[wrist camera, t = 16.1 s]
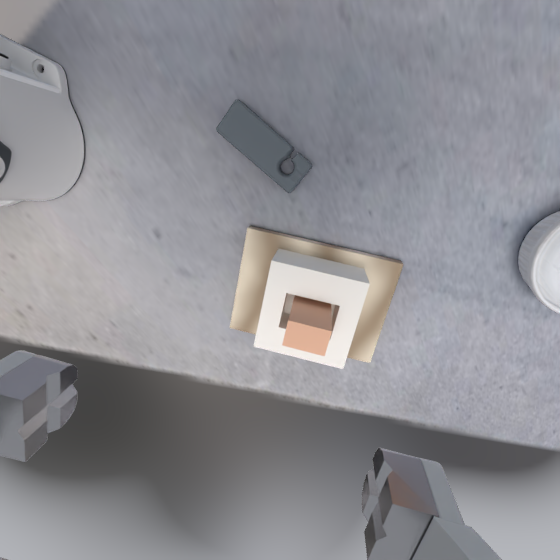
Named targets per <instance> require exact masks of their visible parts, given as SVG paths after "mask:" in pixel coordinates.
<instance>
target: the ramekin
mask: <svg viewBox="0 0 560 560" xmlns="http://www.w3.org/2000/svg"><path fill="white" fill-rule="evenodd" d="M518 265H519V271H520V273H521V275H522V277H523V279H524V281H525V282H526V283H527V285H528V286H529V287H530V288H531V290H532V292H533V293H534V295H535V296H536V298H537V299H538V300H539V301H540V302H541V303H542V304H544V305H545V306H546V307H548V308H549V309H551V310H552V311H554V312H556V313H559V314H560V211H558V212H556V213H553V214H551V215H549V216H547V217H546V218H544V219H543V220H541V221H540V222H539V223H538V224H536V225H535V226H534V227H533V228H532V229H531V230H530V231H529V233H528V234H527V235H526V237H525V239H524V240H523V242H522V245H521V247H520V251H519V257H518Z"/></svg>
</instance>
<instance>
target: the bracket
mask: <svg viewBox="0 0 560 560" xmlns="http://www.w3.org/2000/svg"><path fill="white" fill-rule="evenodd" d="M216 130H217V132H218V133H219V134H221V135H222V136H223V137H224V138H225V139H226V140H227V141H229V142H230V143H231V144H232V145H233V146H234V147H236V148H237V149H238V150H239V151H240V152H241V153H243V154H244V155H245V156H246V157H247V158H248V159H249V160H251V161H252V162H253V163H254V164H255V165H256V166H258V167H259V168H260V169H261V170H262V171H263V172H265V173H266V174H267V175H268V176H269V177H270V178H271V179H273V180H274V181H275V182H276V183H277V184H278V185H280V186H281V187H282V188H283V189H284V190H285V191H287V192H288V193H291V192H292V191H293V190H294V189H295V187H296V186H297V185H298V184H299V183H300V181H301V180H302V179H303V178H304V176H305V175H306V174H307V173H308V171H309V170H310V169H311V168H312V164H311V163H310V162H309V161H308V160H307V159H306V158H304V157H303V156H302V155H301V154H300V153H298V154H297V155H296V156H295V157H294V159H293V158H292V159H291V161H292V162H293V164H294V170H293V172H292V173H291V174H288V175H286V174H284V173H282V171H281V169H280V165H281V163H282V162H283V161H284V160H286V159H287V158H290V155H291V153H292V152H293V151H294V149H293V147H292V146H291V145H290V144H289V143H287V142H286V141H285V140H284V139H283V138H282V137H281V136H279V135H278V134H277V133H276V132H275V131H274V130H273V129H272V128H270V127H269V126H268V125H267V124H266V123H265V122H264V121H262V120H261V119H260V118H259V117H258V116H257V115H256V114H255V113H253V112H252V111H251V110H250V109H249V108H248V107H247V106H245V105H244V104H243V103H242V102H241V101H240V100H235V102H234V103H233V104H232V106H231V107H230V109H229V110H228V112H227V113H226V115H225V116H224V118H223V119H222V121H221V122H220V124H219V125H218V127H217V128H216Z"/></svg>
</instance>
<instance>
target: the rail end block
mask: <svg viewBox="0 0 560 560" xmlns="http://www.w3.org/2000/svg"><path fill="white" fill-rule="evenodd" d="M331 333H332V315H331V304H330V303H326V302H322V301H318V300H313V299H309V298H305V297H301V296H297V295H295V296H294V300H293V304H292V308H291V311H290V315H289V319H288V323H287V327H286V331H285V335H284V339H283V343H282V345H283V346H286V347H290V348H294V349H298V350H302V351H306V352H310V353H313V354H317V355H321V356H325V353H326V350H327V346H328V343H329V340H330V336H331Z"/></svg>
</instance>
